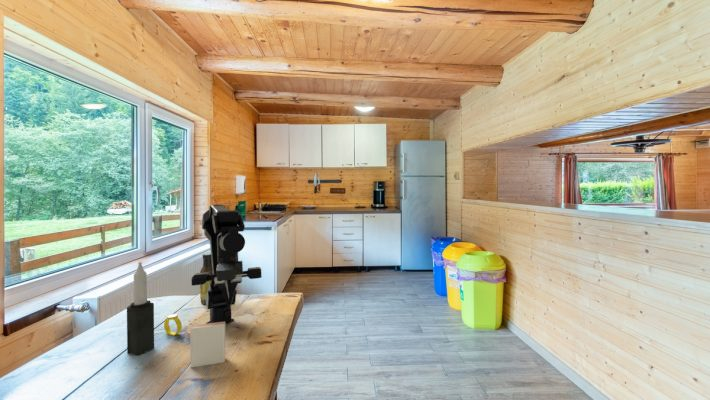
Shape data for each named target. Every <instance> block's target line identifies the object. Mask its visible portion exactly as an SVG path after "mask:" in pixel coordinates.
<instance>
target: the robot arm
mask: <svg viewBox="0 0 710 400" xmlns="http://www.w3.org/2000/svg"><path fill="white" fill-rule="evenodd" d="M208 206H209V207H208V210H206V211H205V212H204V213H203V214H202V218H201V219H202V220H201V229H202V230H203V231H204V233H203V234H204V237H206V238H207V239H208V241H209V249H210V253H211V261H212V273H213V274H210V273H209V272H204V273H200V272H197V273H195V274H194V275H193V276H192V277H191V286H200V285H203V284H204V283H205V282H206V281H211V283H210V286H209V291H207V295H206V304H205V305H206V308H207V310H209V321H207V322H205V324H208V323H216V322H225V326H227V325H228V324H230V323H233V322H234V321H235V318H232V309H231V308H232V306H231V305H233V306H235V305H236V304H235V303H236V298H237V293H238V290H236V289H237V286H238V284H241V283H242V282H243V278H249V279H250V280H253V279H254V280H255V279H261V278H262V277H263V276H262V268H261V267H260V266H254V267H248V268H247V270H244V268H243V266H244V265H243V260H239V252H241V251H242V250H243V249H244V248H245V245H246V239H245V237H244V236H243V234H242V233H240V232H245V226H246V225H245V223H244V219H243V217H242V214H241V213H239V210H235V209H231V210H229V209H228V208H227V207H226V206H225V205H223V204H212V205H208Z"/></svg>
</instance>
